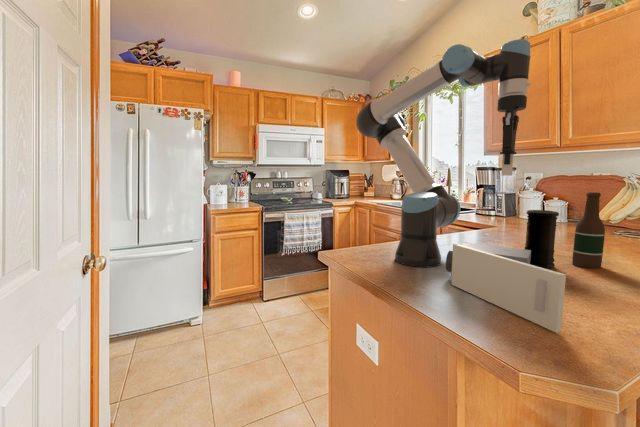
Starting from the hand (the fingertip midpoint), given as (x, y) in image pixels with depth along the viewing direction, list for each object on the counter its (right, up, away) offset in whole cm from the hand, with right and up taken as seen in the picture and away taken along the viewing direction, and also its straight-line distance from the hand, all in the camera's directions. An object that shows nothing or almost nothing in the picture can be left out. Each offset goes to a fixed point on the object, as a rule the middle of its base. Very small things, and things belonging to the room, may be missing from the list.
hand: (506, 175), depth 96 cm
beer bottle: (+29, -29, +5) cm, 42 cm away
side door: (-19, -32, -26) cm, 45 cm away
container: (+13, -29, +6) cm, 33 cm away
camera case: (-14, -31, -13) cm, 36 cm away
